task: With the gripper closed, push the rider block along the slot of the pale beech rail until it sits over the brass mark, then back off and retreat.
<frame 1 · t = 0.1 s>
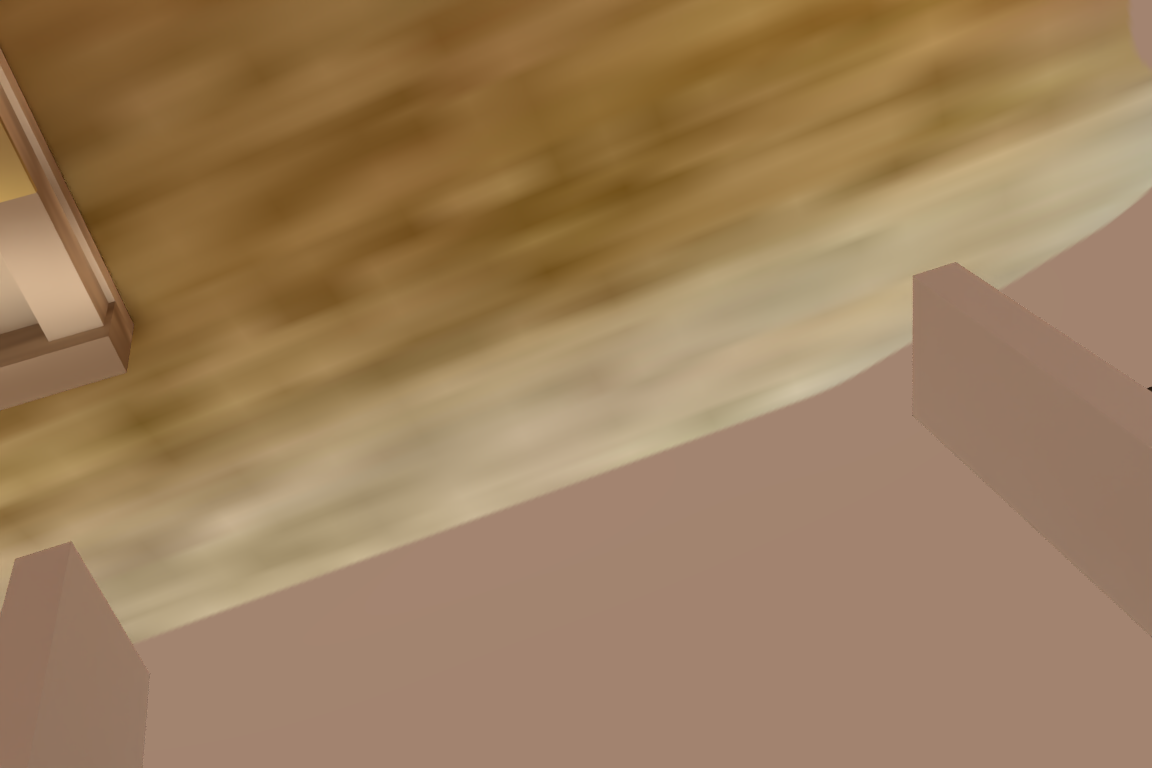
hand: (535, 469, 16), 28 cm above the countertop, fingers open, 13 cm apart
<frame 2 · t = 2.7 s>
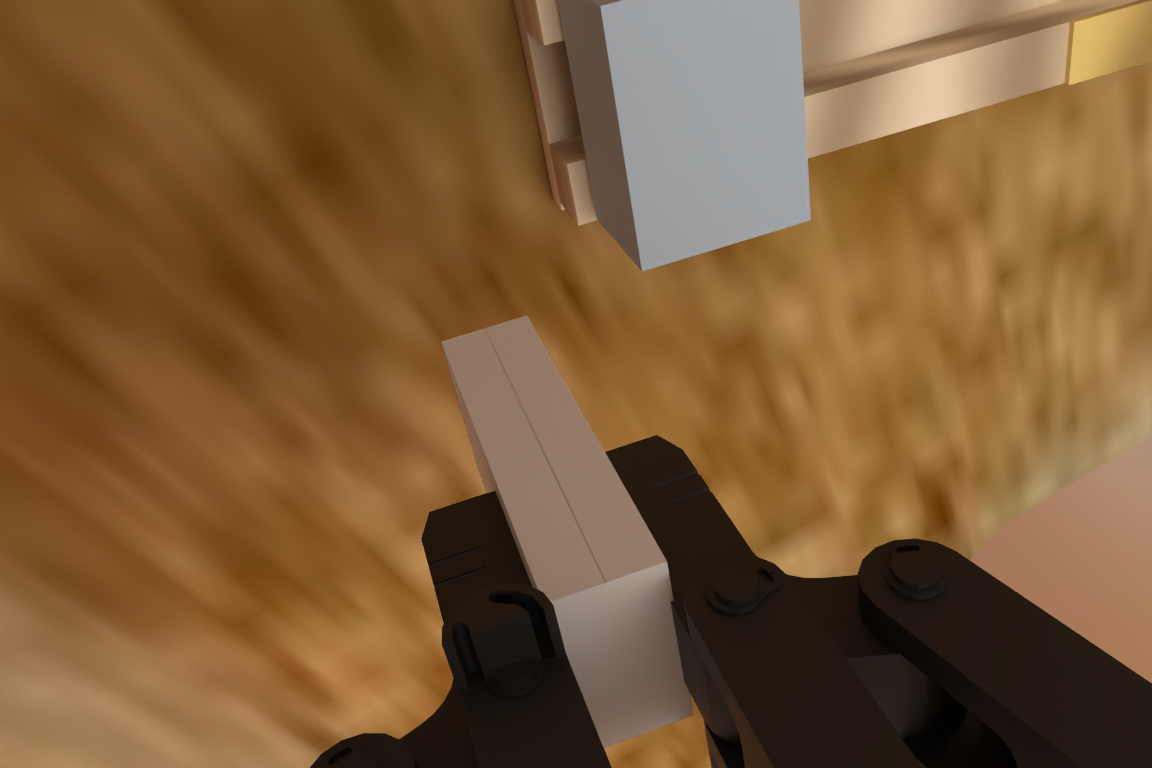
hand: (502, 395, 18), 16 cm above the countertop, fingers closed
rider: (671, 92, 29), point 4 cm above the countertop, slide at 0.0 cm
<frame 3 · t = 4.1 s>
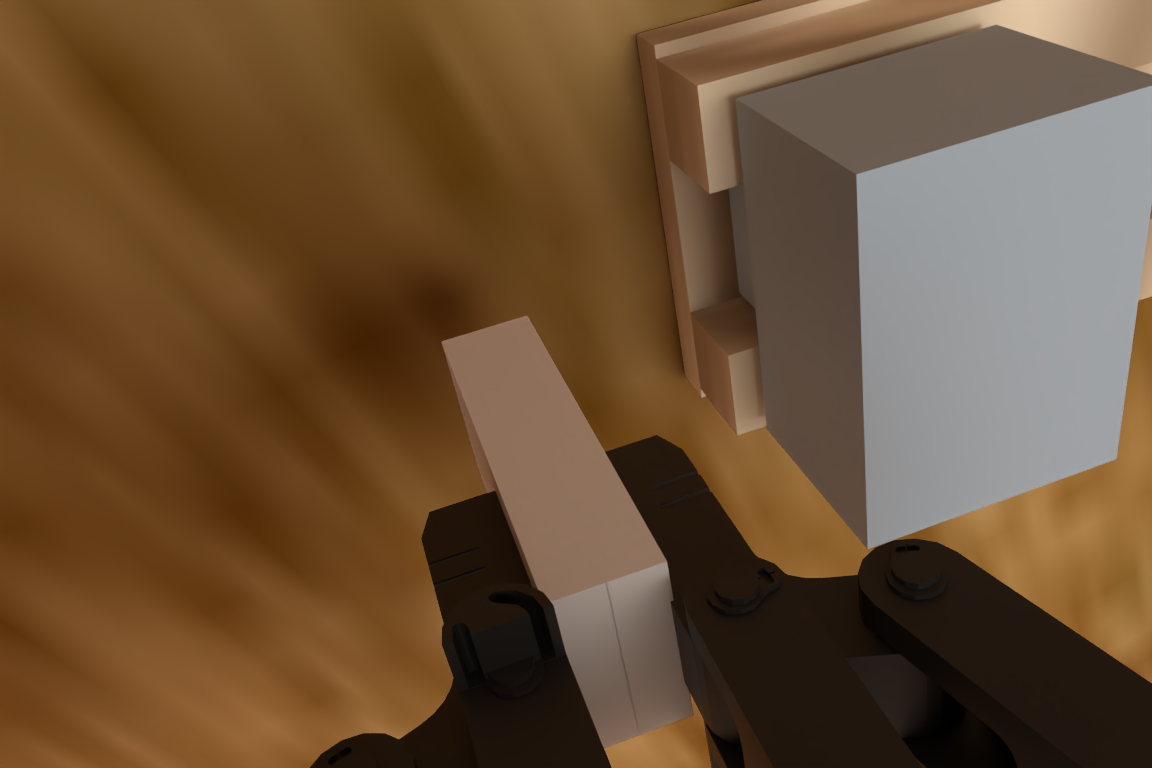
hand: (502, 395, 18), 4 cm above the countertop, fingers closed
rider: (901, 262, 19), point 4 cm above the countertop, slide at 0.0 cm
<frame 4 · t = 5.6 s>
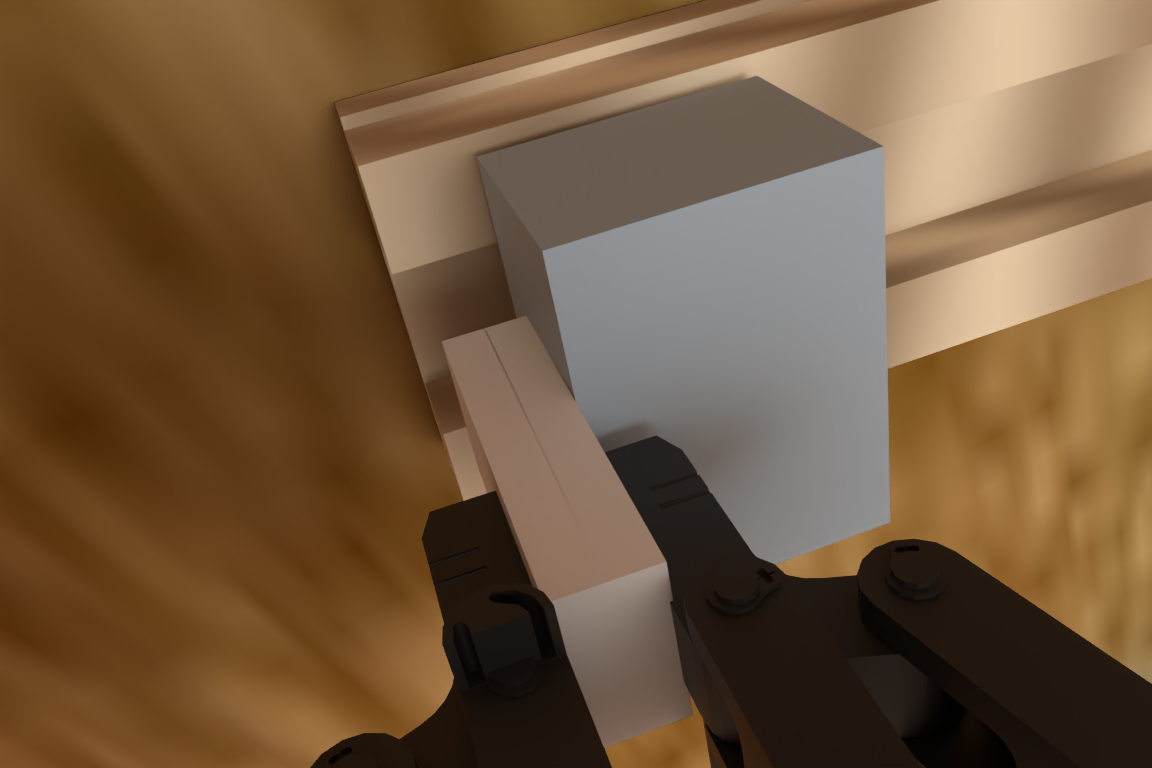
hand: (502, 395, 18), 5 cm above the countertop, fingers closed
rider: (669, 320, 18), point 4 cm above the countertop, slide at 1.4 cm, touching gripper
rail: (1031, 95, 24), on the countertop
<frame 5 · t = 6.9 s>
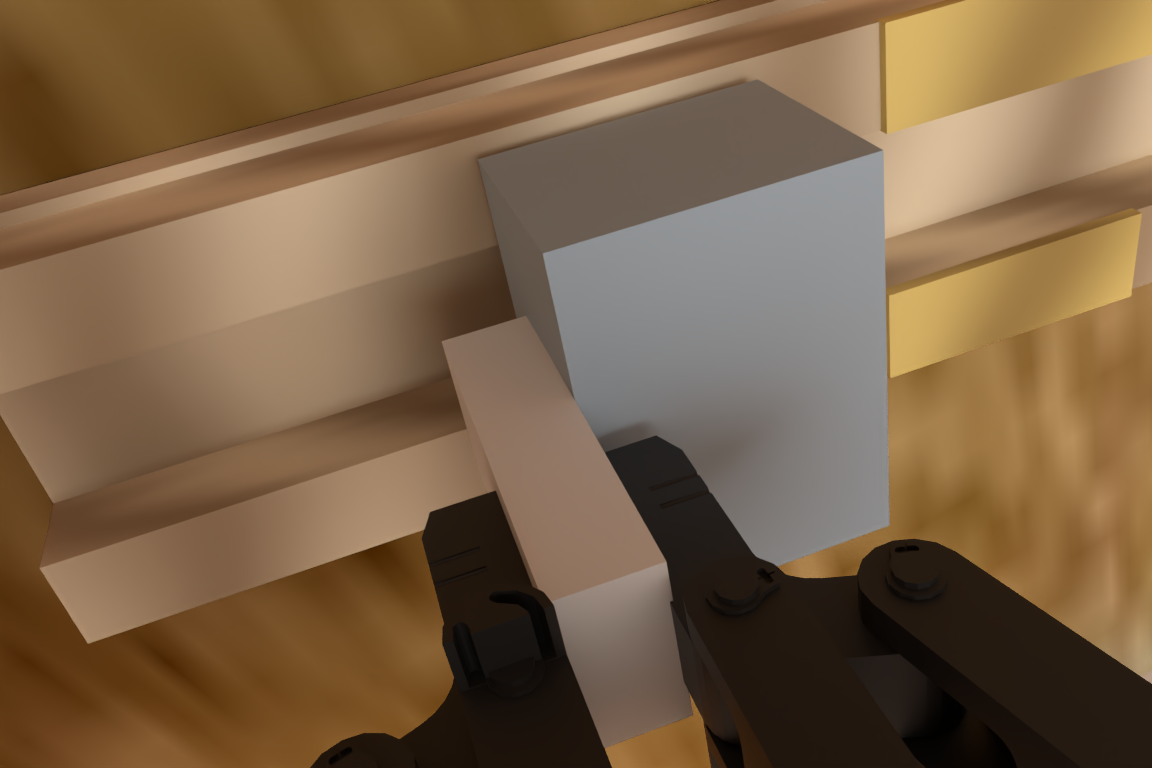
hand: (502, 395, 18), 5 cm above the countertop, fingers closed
rider: (669, 323, 18), point 4 cm above the countertop, slide at 9.0 cm, touching gripper
rail: (725, 192, 22), on the countertop
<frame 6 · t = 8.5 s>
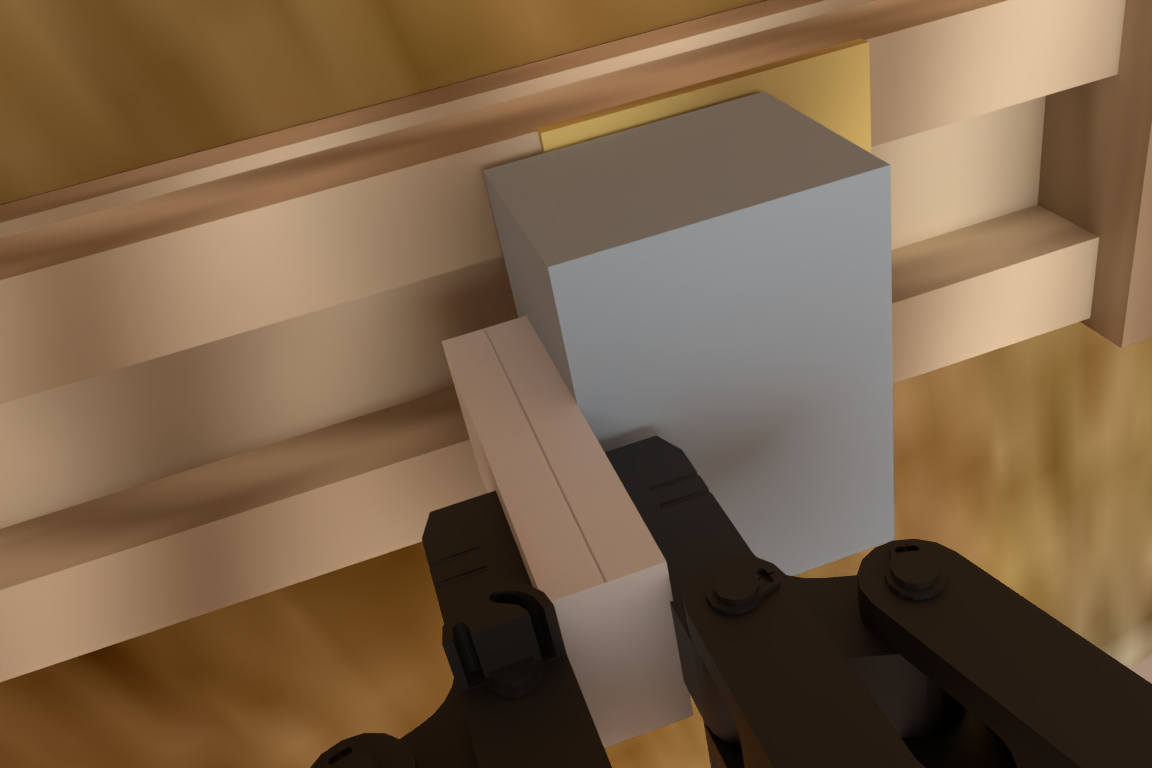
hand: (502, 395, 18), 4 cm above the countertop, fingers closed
rider: (674, 335, 18), point 4 cm above the countertop, slide at 15.4 cm, touching gripper
rail: (444, 287, 21), on the countertop
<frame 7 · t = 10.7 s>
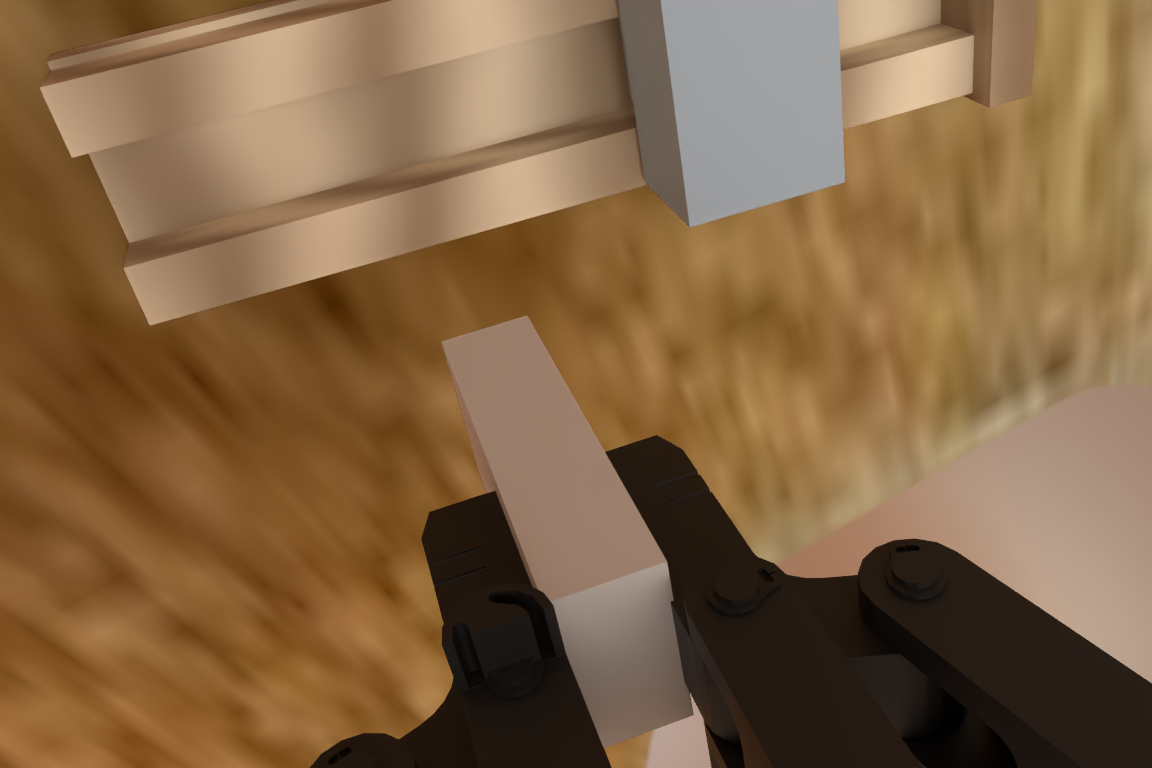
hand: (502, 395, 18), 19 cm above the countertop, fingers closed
rider: (717, 64, 31), point 4 cm above the countertop, slide at 15.7 cm
rail: (563, 62, 34), on the countertop
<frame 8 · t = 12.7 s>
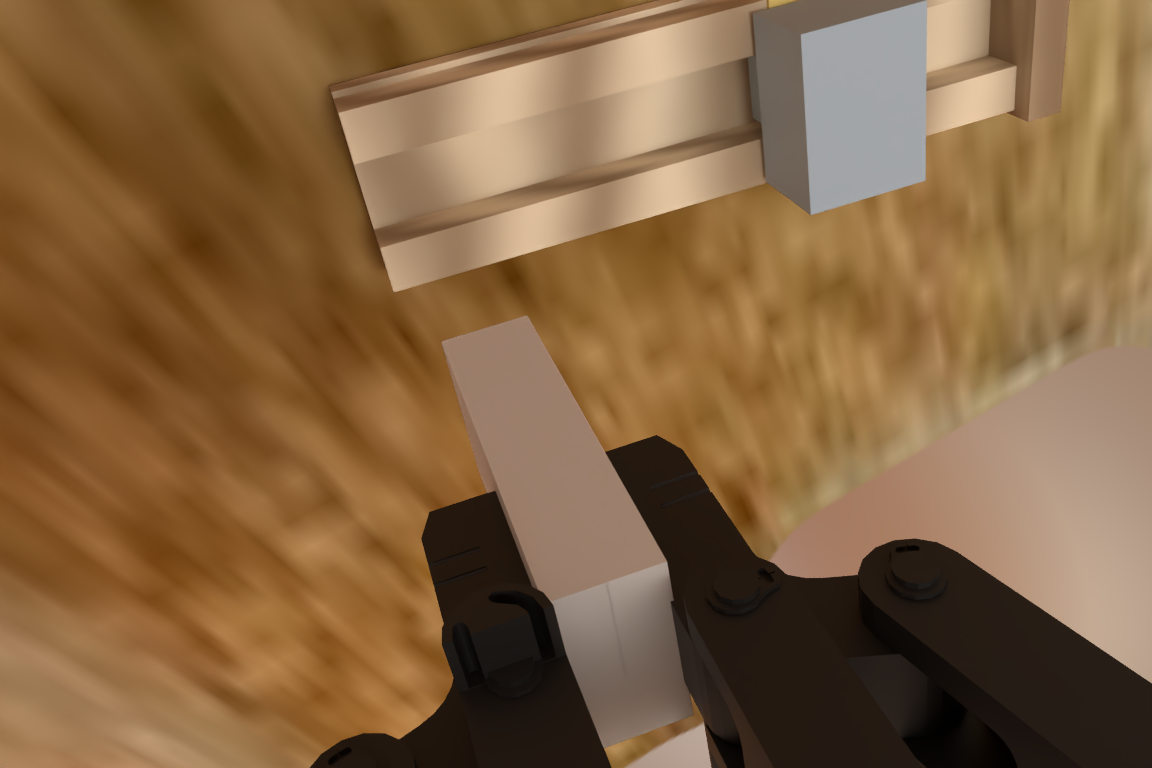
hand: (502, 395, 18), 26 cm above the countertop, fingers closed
rider: (827, 91, 41), point 4 cm above the countertop, slide at 15.7 cm
rail: (699, 87, 44), on the countertop
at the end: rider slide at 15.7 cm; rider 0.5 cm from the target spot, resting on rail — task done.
